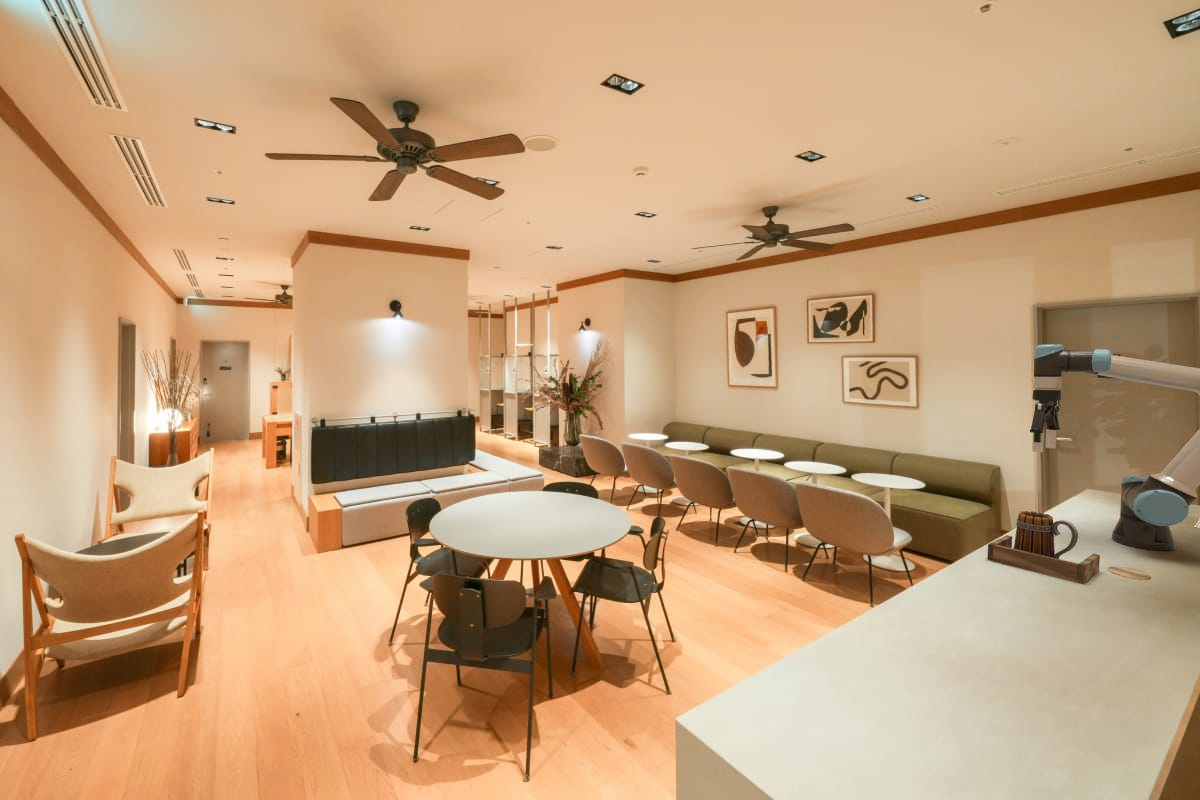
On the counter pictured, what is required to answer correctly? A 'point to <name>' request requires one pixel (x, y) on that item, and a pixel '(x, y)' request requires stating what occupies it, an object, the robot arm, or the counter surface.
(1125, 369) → the robot arm
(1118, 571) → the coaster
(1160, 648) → the counter surface
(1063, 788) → the counter surface
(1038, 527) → the mug
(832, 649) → the counter surface
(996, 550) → the bay
